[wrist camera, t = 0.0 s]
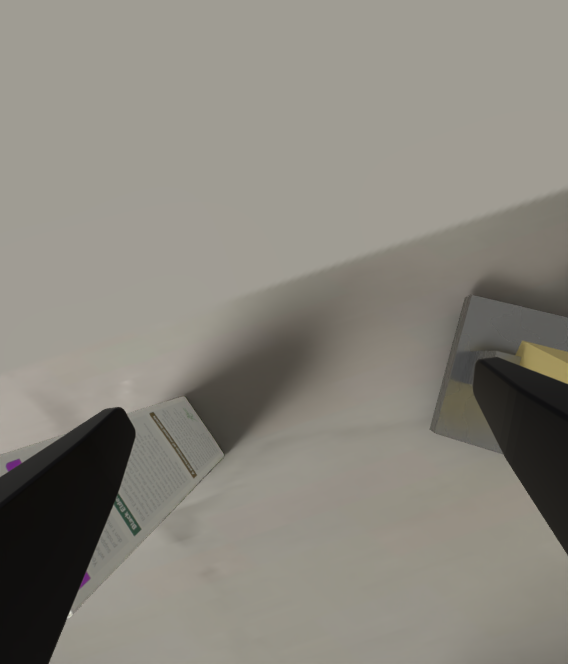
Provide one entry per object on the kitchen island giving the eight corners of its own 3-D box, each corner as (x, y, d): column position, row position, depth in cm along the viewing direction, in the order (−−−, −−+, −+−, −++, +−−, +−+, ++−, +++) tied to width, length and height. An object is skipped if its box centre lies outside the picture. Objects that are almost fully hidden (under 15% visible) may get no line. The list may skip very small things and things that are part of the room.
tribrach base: (568, 469, 20) (652, 510, 15) (425, 425, 21) (455, 448, 16) (603, 334, 20) (697, 328, 15) (458, 300, 21) (499, 283, 16)
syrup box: (185, 392, 24) (-32, 450, 10) (229, 456, 23) (63, 626, 9) (129, 436, 24) (-157, 553, 10) (171, 500, 23) (-78, 731, 9)
